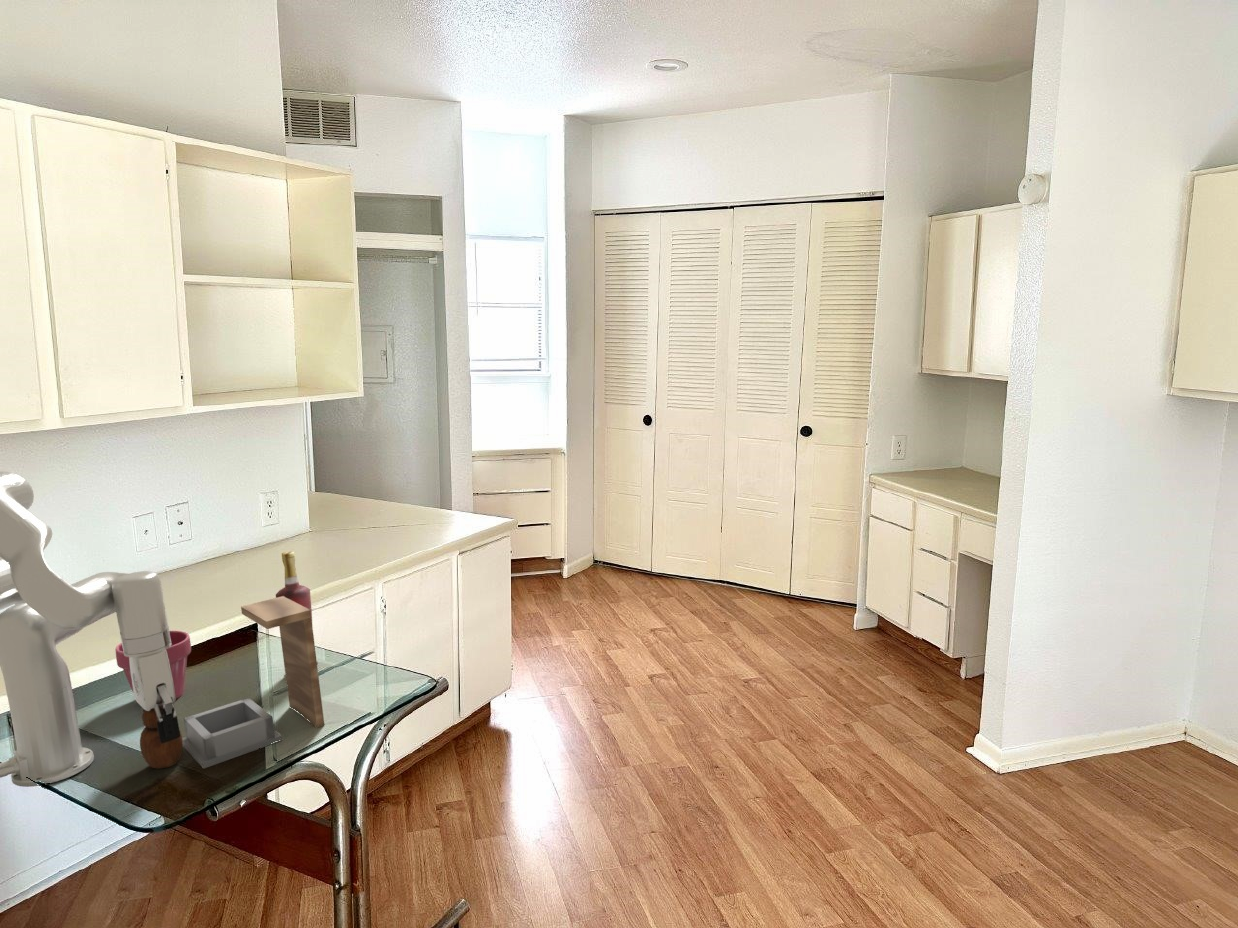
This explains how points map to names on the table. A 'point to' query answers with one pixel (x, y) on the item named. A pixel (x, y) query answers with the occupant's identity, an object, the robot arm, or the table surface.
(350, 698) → the table surface
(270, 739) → the socket
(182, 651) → the plant pot
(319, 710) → the wooden l-shaped stand
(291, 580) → the liquor
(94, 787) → the table surface
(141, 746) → the wooden figurine
